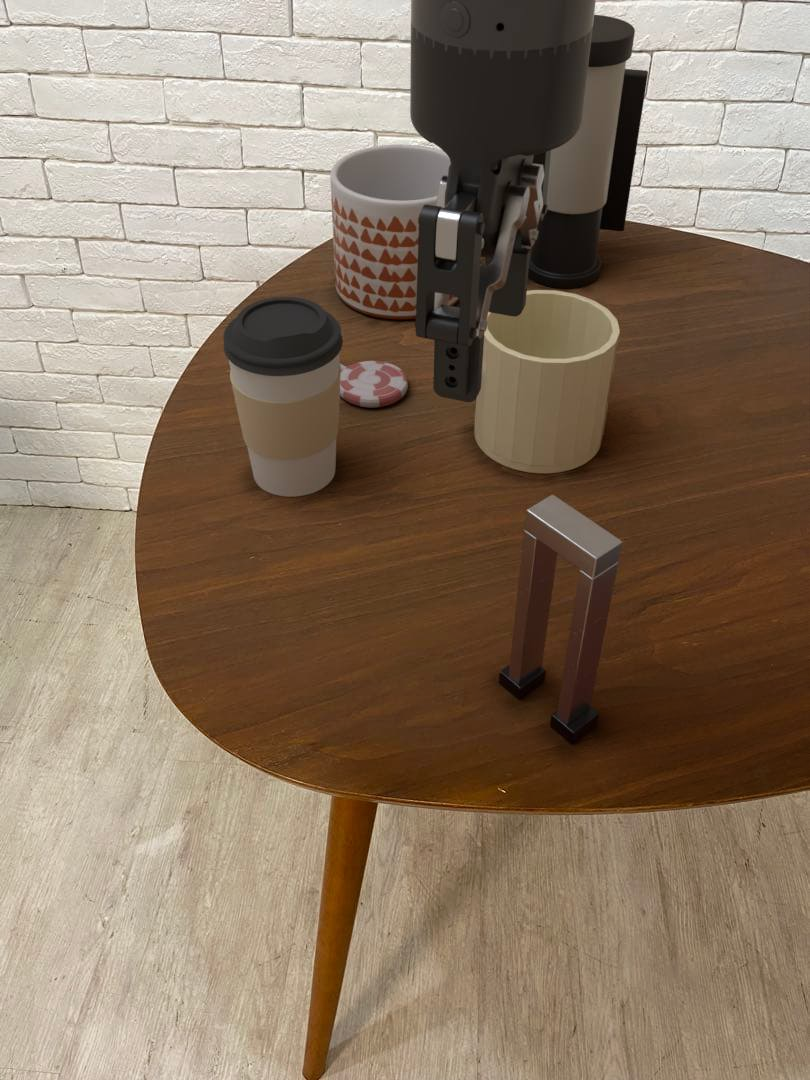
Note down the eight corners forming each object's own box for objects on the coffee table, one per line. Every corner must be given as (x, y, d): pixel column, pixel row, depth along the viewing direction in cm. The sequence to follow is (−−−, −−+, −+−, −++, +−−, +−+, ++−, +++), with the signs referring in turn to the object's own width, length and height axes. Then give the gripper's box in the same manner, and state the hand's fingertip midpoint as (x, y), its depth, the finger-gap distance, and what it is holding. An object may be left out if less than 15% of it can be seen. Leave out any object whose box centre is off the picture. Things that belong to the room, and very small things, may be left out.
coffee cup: (231, 449, 91) (210, 293, 80) (333, 430, 93) (324, 276, 82) (252, 515, 84) (231, 355, 74) (360, 493, 86) (355, 335, 76)
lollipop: (308, 320, 104) (422, 377, 97) (308, 329, 105) (422, 386, 97) (259, 347, 100) (373, 408, 93) (260, 356, 101) (374, 418, 94)
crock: (613, 411, 95) (631, 303, 87) (586, 485, 87) (603, 373, 80) (493, 387, 98) (501, 280, 90) (457, 457, 90) (462, 346, 82)
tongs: (498, 682, 72) (515, 504, 61) (524, 664, 73) (545, 486, 62) (571, 745, 68) (604, 566, 57) (597, 724, 69) (634, 546, 58)
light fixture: (500, 282, 112) (518, 36, 95) (515, 236, 120) (534, 2, 103) (614, 295, 110) (652, 46, 93) (621, 247, 118) (658, 10, 101)
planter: (334, 323, 106) (328, 202, 97) (336, 258, 116) (331, 144, 107) (469, 321, 106) (476, 200, 98) (460, 256, 116) (464, 142, 108)
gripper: (550, 81, 37) (516, 445, 48) (625, -24, 47) (582, 298, 58) (353, 57, 39) (364, 413, 50) (465, -40, 49) (453, 275, 60)
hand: (481, 351), depth 54 cm, fingers open, 8 cm apart
